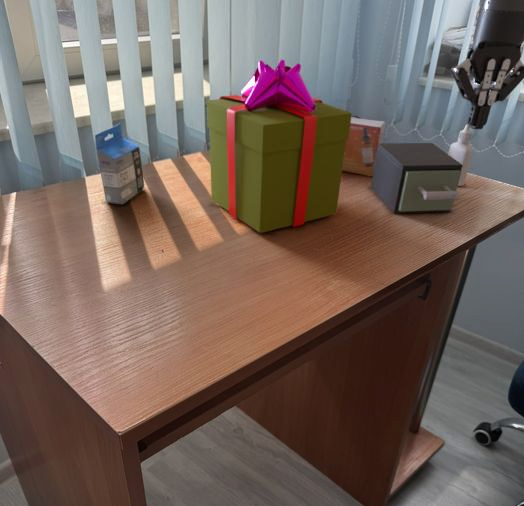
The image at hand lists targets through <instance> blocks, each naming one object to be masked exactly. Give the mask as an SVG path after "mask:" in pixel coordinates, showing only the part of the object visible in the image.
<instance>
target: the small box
mask: <svg viewBox="0 0 524 506" xmlns="http://www.w3.org/2000/svg"><path fill="white" fill-rule="evenodd" d="M385 128H386V121H384V120H374V119H367V118H366V119H365V118H361V119H359V118H355V117H351V123H350V130H349V138H348V140H346V143H345V151H344V159H343V166H342V172H347V173H354V174H359V175H363V176H368V177H373V172H374V166H375V161H376V155H377V149H378V144H383V140H384V133H385Z"/></svg>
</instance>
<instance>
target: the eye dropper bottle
mask: <svg viewBox="0 0 524 506" xmlns="http://www.w3.org/2000/svg"><path fill="white" fill-rule="evenodd" d="M472 135H473V132H472V131H471V130H470V127H469V124H466V125H465V127H464V129H462V130H460V131H459V133H458V138H457V141H454V142H453V143H451V144H450V146H449V150H448V153H447V154H448V155H450V156H451V157H452V158H454V159H455V160H457V161H458V162H459V163H461V164H462V165H463V166H462V169H461V175H460V179H459V183H458V186H457V187H463V186H464V185H465V183H466V180H467V177H468V172H469V169H470V165H471V162H472V157H473V153H474V150H473V147H472V145H471V144H470V142H471V138H472Z"/></svg>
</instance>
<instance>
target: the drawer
mask: <svg viewBox="0 0 524 506" xmlns="http://www.w3.org/2000/svg"><path fill="white" fill-rule="evenodd" d="M460 175H461V171H459V170H451V169H437V170H406V172H405V177H404V182H403V186H402V191H401V196H400V201H399V206H398V210H399V211H400V212H401V211H432V210H450V211H452V209H453V205H454V201H455V200H457V199H458V197H459V192H458V187H459V186H458V183H459V179H460Z"/></svg>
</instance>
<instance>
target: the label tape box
mask: <svg viewBox="0 0 524 506" xmlns="http://www.w3.org/2000/svg"><path fill="white" fill-rule="evenodd" d="M122 130H123V129H122V123H117V124H116V125H114V126H111V127H109V128H106V129H105V130H102V131H100V132H98V133H96V134H95V135H94V141H95V149H96V155H97V161H98V166H99V171H100V178H101V182H102V188H103V194H104V199H105V202H106V203H111V204H113V205H114V204H116V205H124V204H126V203H127V202H128V201H130V200H131V199H132V198H134V197H135V196H136V195H138V194H140V193H141V192H142V191H143V190H145V189H146V187H145V181H144V180H145V179H144V173H143V172H144V171H143V166H142V157H141V150H140V147H139V146H138V145H137V144H135V143H133V142H132V141H130V140H128V139H126V138H125V137H123V136H122V135H123V133H122ZM109 135H110V136H111V135H112V137H110V138H108V139H106V138H107V137H108V136H109Z"/></svg>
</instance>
